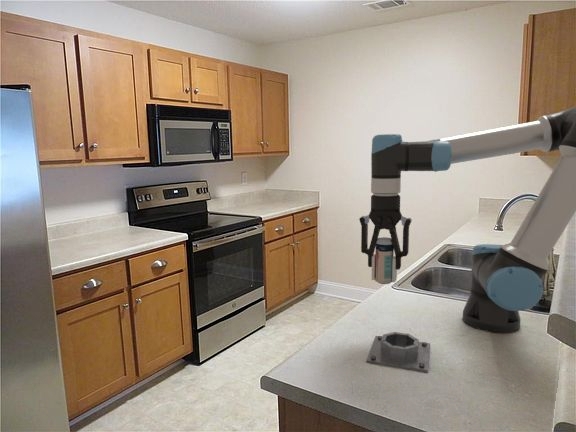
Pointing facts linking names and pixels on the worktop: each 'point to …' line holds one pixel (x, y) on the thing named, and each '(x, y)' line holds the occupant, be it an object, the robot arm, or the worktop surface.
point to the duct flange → (400, 352)
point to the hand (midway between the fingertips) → (384, 279)
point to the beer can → (384, 260)
